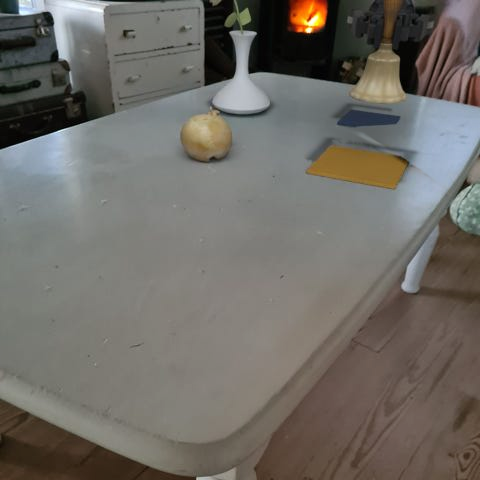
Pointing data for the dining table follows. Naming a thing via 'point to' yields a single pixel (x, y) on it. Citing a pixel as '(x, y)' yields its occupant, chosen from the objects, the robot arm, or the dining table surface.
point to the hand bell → (382, 65)
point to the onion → (206, 136)
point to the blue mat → (367, 119)
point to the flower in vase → (240, 73)
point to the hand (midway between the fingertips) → (387, 37)
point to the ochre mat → (360, 166)
